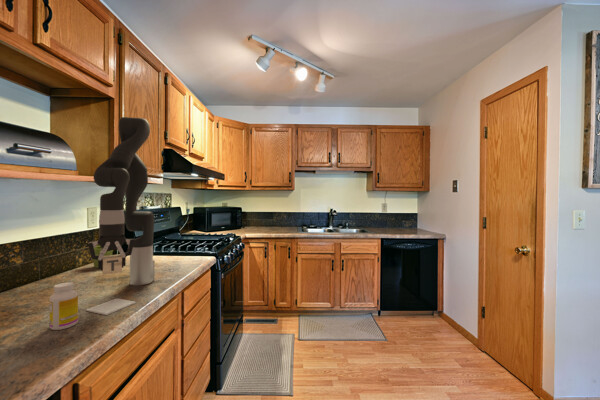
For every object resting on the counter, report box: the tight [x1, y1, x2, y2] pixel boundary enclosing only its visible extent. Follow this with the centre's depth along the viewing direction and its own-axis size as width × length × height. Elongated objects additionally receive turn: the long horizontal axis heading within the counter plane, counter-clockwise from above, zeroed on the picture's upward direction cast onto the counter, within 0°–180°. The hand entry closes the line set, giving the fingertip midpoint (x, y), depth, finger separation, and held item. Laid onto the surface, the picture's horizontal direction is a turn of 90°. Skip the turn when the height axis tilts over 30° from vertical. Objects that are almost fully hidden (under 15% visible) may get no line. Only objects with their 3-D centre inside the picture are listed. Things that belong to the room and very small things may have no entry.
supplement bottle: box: [48, 281, 79, 331], centre depth 83 cm, size 7×7×13 cm
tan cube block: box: [102, 253, 123, 275], centre depth 97 cm, size 6×6×6 cm
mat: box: [85, 297, 137, 316], centre depth 97 cm, size 11×10×1 cm
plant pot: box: [92, 245, 114, 269], centre depth 151 cm, size 12×12×11 cm
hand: (111, 268), depth 97 cm, fingers closed on tan cube block, 5 cm apart
